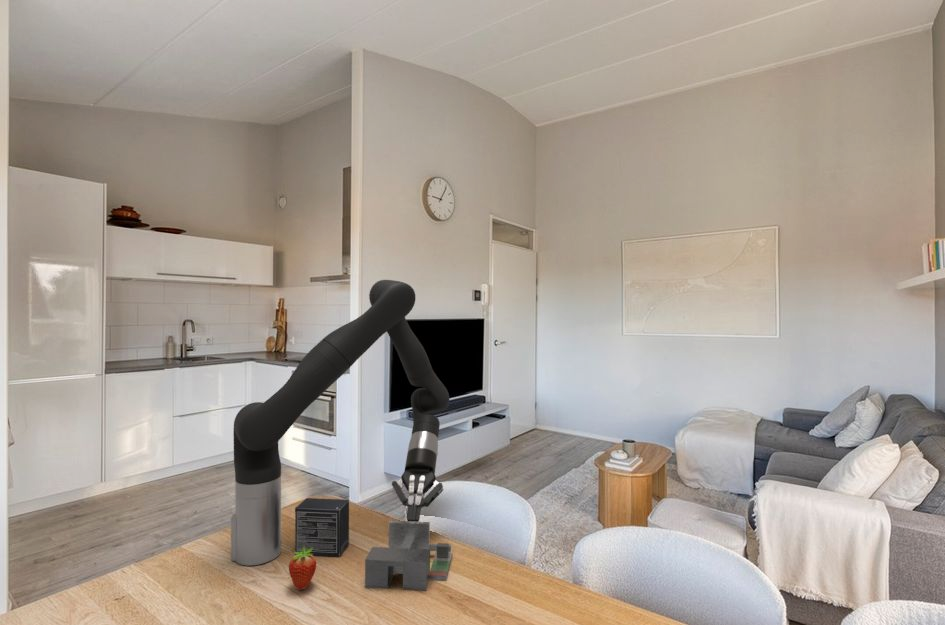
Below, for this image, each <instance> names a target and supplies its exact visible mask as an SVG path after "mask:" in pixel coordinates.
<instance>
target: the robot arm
mask: <svg viewBox="0 0 945 625" xmlns="http://www.w3.org/2000/svg"><path fill="white" fill-rule="evenodd" d="M368 298H369V304H370V305H371V306H370V307H369V308H368V309H367V310H365V312H364V313H362V314H361V315H360V316H358V317H357V318H355V319H353V320H351V321H350V322H347V323H345V324H344V325H342V326H340V327H338V328H337V329H334V330H333V331H331V332H330V333H328V334H327V335H326V336H324V337H323V338H322V339H321V340H320V341H319V342H318V343H317V344H315V345H314V347H312V348H311V349H310V350H309V351H308V352H307V354H305V355H304V357H303V358H302V359H301V361H300V362H299V363H298V365H297V366H296V368H295V369H294V371H293V373H291V375H290V377H289V379H288V380H287V381H286V382H285V383H284V384H283V386H282V387H281V388H279V390H277V391H276V392H275V393H274V394H272V395H271V396H270V397H269V398H268V399H267V400H265V401H264V402H258V401H255V402H251V403H248V404H245V405H244V406H243V407H242V408H241V409H240V410H239V411H238V412H237V413H236V416H235V418H234V422H233V465H234V473H235V474H234V478H235V480H234V481H235V482H234V483H235V484H234V486H235V487H234V488H235V490H234V491H235V492H234V499H235V500H234V502H235V505H234V506H235V507H234V509H235V511H234V514H233V515H232V516H231V518H230V561H231V562H236V563H237V564H239V565H242V566H257V565H258V566H259V565H262V564H265V563H268V562H271V561H273V560H275V559H276V558H278V557H279V556H280V555H281V551H282V462H281V458H280V451H279V442H280V440H281V439H282V438H283V437H284V436H285V434H286V433H287V432H288V430H289V429H290V428H291V427H292V426H293V424H294V423H295V422H296V421H297V420H298V418H299V417H300V416H301V415H302V414H303V413H304V412H305V410H306V409H308V408H309V406H311V405H312V403H314V402H315V401H316V400H317V399H318V398H319V397H320V396H321V395H323V394H324V393H325V392H326V391H327V390H328V389H329V388H330V387H331V386H332V385H333V384H334V383H336V381H338V379H340V378H341V377H342V376H343V375H344V374H345V373H346V372H347V371H348V370H349V369H350V368H351V367H353V365H354V364H355V363H356V361H357V360H358V359H359V358H360V357H361V356H363V355H364V354H365V353H366V351H368V350H369V349H370V348H371V347H372V346H373V344H375V343H376V342H377V341H378V340H379V339H380V338H381V337H382V336H383V335H385V334H386V333H387V335H388V336H389V338H390V340H391V342H392V345H393V346H394V348H395V350H396V353H397V354H398V357H399V359H400V362H401V364H402V367H403V370H404V372H405V374H406V377H407V379H408V381H409V384H410V385H411V386H412V387H413V386H414V387H418V388H417V389H415V390H414V391H413V392H412V393H411V396H410V404H411V409H412V422H413V423H412V429H411V434H410V436H411V437H410V439H409V444H408V448H407V452H406V460H405V466H404V471H403V473H402V474H401V478H400V479H398V480H397V481H396V480H393V481H392V482H391V486H392V488H393V490H394V492H395V494H396V495H397V497H398V499H399V501H400V502H401V503H402V505H403V506H404V507H407V511H406V512H407V513H406V516H405V517H406V521H414V522H420V518H421V517H420V516H421V509H423V508H424V507H425V508H428V507H429V506H430V505H432V503H433V502H434V501H435V500H436V498H438V496H440V494H441V493H442V492H444V486H443V483H442V482H439V481H437V477H436V475H435V474H436V466H437V457H438V451H439V450H438V449H439V434H440V425H441V424H440V419H439V418H438V417H437V416H436V415H434V414H430V413H435V412H436V413H437V412H442V411H445V410H447V408H448V407H449V405H450V394H449V392H448V389H447V388H446V386H445V384H443V382H442V381H441V380H440V379H439V377H438V376H437V374H436V373H435V372H434V370H433V367H432V365H431V363H430V359H429V357H428V355H427V352H426V350H425V348H424V346H423V345H422V343H421V342H420V340H419V338H418V337H417V336H416V335H415V333H414V332H413V330H412V329H411V327H410V324H409V323H408V321H407V319H406V317H407V316H408V314H409V313H410V312H411V311H412V310H413V309H414V306H415V303H416V292H415V289H414V288H413V287H412V286H411V285H410V284H408V283H406V282H402V281H399V280H392V279H381V280H378V281H376V282H375V283H374V284H373V285H372V286H371V289H370V290H369V294H368ZM403 486H404V487H405V488H406V491H407V492H408V498H407V497H406V496H405V493H404V492H403V491H402V490H403ZM431 488H432V489H431ZM430 489H431V491H429V490H430ZM428 492H429V493H428ZM426 493H428V494H426ZM425 494H426V495H425Z"/></svg>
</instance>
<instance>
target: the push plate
mask: <svg viewBox="0 0 945 625" xmlns="http://www.w3.org/2000/svg"><path fill="white" fill-rule="evenodd" d="M430 526H431V524H430V521H419V522H414V521H407V520H389V521H388V548H408V549H430V552H436V551H437V544H438V543H434V542H433V543H432V542H430V540H431V538H430V537H431V536H430V535H431V534H430V532H431V529H430V528H431V527H430ZM451 550H452V543H449V552H451ZM393 574H394V575H395V574H396V575H403V567H402V566H393Z"/></svg>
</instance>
